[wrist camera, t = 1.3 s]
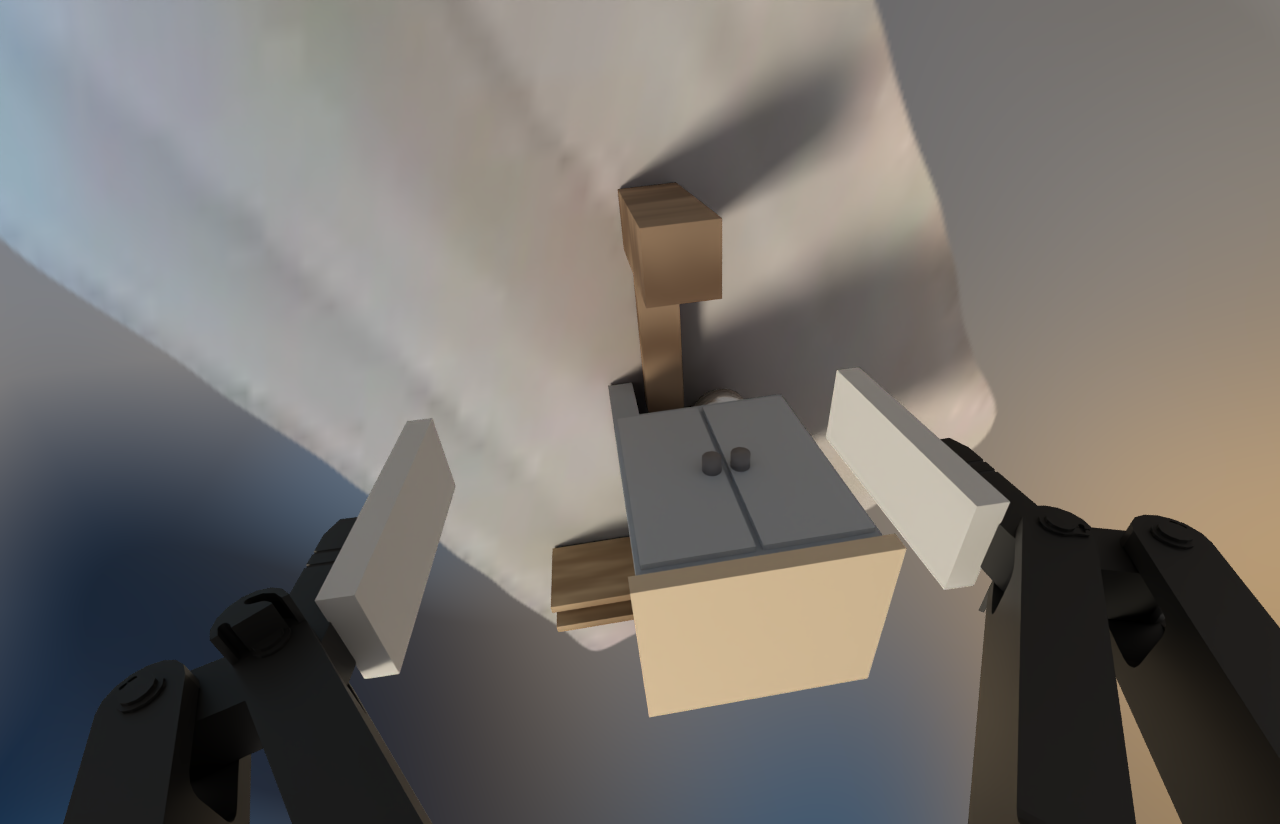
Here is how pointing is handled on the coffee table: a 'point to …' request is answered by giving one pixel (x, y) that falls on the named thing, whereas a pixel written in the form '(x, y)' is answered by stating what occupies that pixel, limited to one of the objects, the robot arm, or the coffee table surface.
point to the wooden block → (668, 277)
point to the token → (718, 397)
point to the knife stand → (592, 584)
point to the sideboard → (745, 555)
